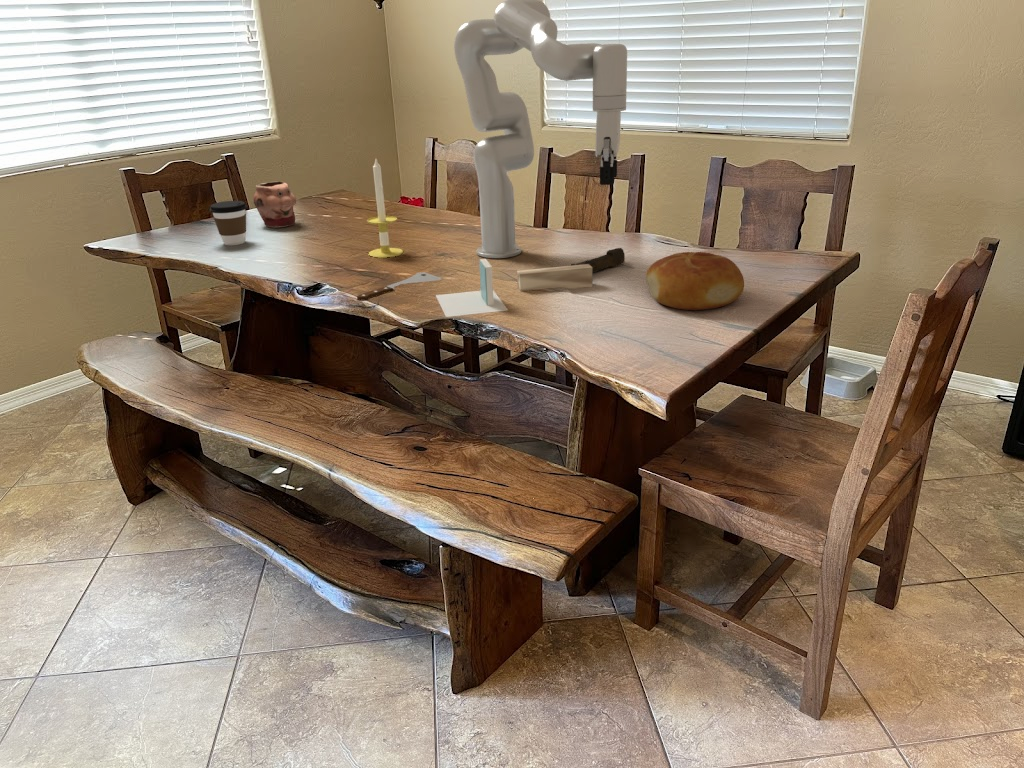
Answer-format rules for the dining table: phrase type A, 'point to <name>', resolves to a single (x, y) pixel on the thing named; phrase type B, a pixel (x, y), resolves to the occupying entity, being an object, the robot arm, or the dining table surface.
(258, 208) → the decorative planter
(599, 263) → the rusty brown spike
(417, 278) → the kitchen cleaver
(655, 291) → the bread
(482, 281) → the tile
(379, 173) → the candle
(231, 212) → the coffee cup
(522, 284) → the beige long bar
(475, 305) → the mat
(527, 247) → the dining table surface
